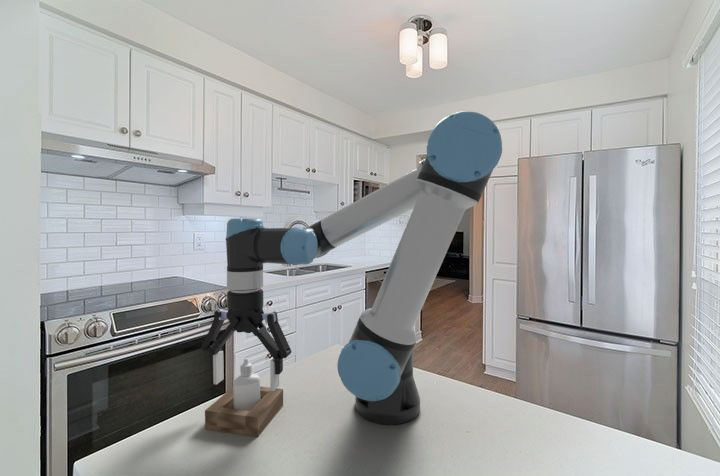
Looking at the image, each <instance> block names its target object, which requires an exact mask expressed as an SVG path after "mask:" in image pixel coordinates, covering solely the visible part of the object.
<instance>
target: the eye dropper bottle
mask: <svg viewBox="0 0 720 476" xmlns="http://www.w3.org/2000/svg"><path fill="white" fill-rule="evenodd" d="M232 387H233V401H234V409H238V410H246V411H250V410H251V409H252V408H253V407H254V406H255V405H256V404H257V403H258V402H259V401H260V387H261V377H260V376H259V374H257V373H253V365H252V362H249V358H247V357H245V358H244V359H243V363H241V364H240V374H239V375H238V376H236V377H234V378H233V381H232Z"/></svg>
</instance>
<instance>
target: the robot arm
mask: <svg viewBox="0 0 720 476" xmlns="http://www.w3.org/2000/svg"><path fill="white" fill-rule="evenodd" d="M502 153H503V141H502V136H501V133H500V131H499V128H498V127H497V125H496V124H495V122H494V121H493V120H491V119H490V118H489V117H487V115H484V114H482V113H479V112H475V111H469V110H468V111H467V110H466V111H463V110H462V111H459V112H458V111H457V112H454V113H452V114H449V115H448V116H446V117H444V118H442V119H441V120H440V121H439V122H438V123H437V124H436V125H435V126H434V128H433V129H432V131H431V133H430V135H429V137H428V140H427V146H426V156H425V158H424V159H422V160H420V161H419V162H418V164H417V167H416V168H415V169H413V170H411V171H410V172H408V173H406V174H404V175H402V176H400V177H398V178H397V179H394V180H393V181H391V182H389V183H387V184H385V185H383V186H382V187H379V188H378V189H376V190H373V191H372V192H370V193H369V194H367V195H365V196H362V197H361V198H359V199H357V200H356V201H354V202H352V203H350V204H348V205H346V206H344V207H343V208H341V209H339V210H337V211H335V212H334V213H331V214H330V215H328V216H326V217H325V218H323V219H321V220H318V221H317V222H314V223H313V224H311V225H309V226H306V227H272V228H271V227H264V221H263V220H262V219H261V218H230V219H229V220H228V221H227V222H226V235H225V245H226V261H227V262H226V263H227V266H226V289H227V290H228V291H227V292H226V307H227V309H228V310H227V309H225V308H224V307H223V308H219V309H218V310H214V313H213V322H212V323H211V326H210V328H209V329H208V333H207V335H206V336H205V338H204V341H203V343H202V345H201V350H202V351H203V352H208V354H209V360H210V361H209V362H210V363H209V365H210V367H211V368H212V371H213V372H212V377H213V378H212V379H213V381H212V382H213V385H218V384H219V383H220V382H222V381H223V380H224V379H225V378H224V376H225V375H224V374H225V373H224V364H225V363H224V362H225V361H224V350H222V347H223V346H224V345H225V343H227V342H228V340H229V339H230V338H231V337H232V335H233V334H234V333H235V332H236V333H246V334H251V333H252V334H253V335H254V336H255V337H256V338H258V340H259V341H260V342H261V343H262V346H264V348H265V350H267V352H268V353H269V354H270V356H271V357H272V359H271V360H270V361H269V363H270V364H269V365H270V367H269V368H270V374H269V375H270V383H269V384H270V386H269V388H270V391H274V390H275V389H276V388H278V387H279V386H280V374H282V373H283V371H284V359H287V357H289V356H290V355H291V354H292V349H291V347H290V345H289V343H288V340H287V338H286V336H285V334H284V331H283V330H282V327H281V325H280V323H279V320H278V312H276V311H272V312H268V313H267V312H264V290H263V289H262V288H263V287H264V264H277V265H278V264H279V265H292V266H301V265H302V266H304V265H306V266H307V265H311V263H313V262H314V260H315V259H318V258H321V257H324V256H325V255H327V254H328V253H329V252H331V251H332V250H334V249H336V248H338V247H340V246H342V245H344V244H346V243H348V242H349V241H352V240H354V239H356V238H358V237H360V236H361V235H363V234H366V233H368V232H370V231H372V230H374V229H375V228H377V227H380V226H382V225H383V224H385V223H388V222H389V221H392V220H393V219H395V218H398V217H399V216H402V215H403V214H405V213H407V212H409V211H411V210H412V212H411V213H410V217H409V218H408V222H407V224H406V226H405V228H404V231H403V233H402V236H401V238H400V239H399V242H398V245H397V248H396V250H395V252H394V254H393V256H392V260H391V262H390V264H389V267H388V269H387V271H386V274H385V276H384V278H383V281H382V283H381V285H380V288H379V290H378V292H377V295H376V297H375V300H374V302H373V305H372V307H371V308H366V309H365V310H363V311H362V312H361V314H360V315H359V318H358V320H357V322H356V324H355V327H354V330H353V332H352V334H351V337H350V339H349V341H348V343H346V344H345V345H344V346H343V348H342V349H341V350H340V353H339V356H338V357H337V364H336V365H337V372H338V376H339V378H340V380H341V383H342V385H343V386H344V387H345V389H346V390H347V391H348V392H350V394H352V395H353V396H355V399H354V400H355V410H356V413H357V414H359V415H360V416H361V417H362V418H363V419H366V420H368V421H370V422H374V423H376V424H381V425H401V424H405V423H407V422H410V421H413V420H414V419H416V417H418V415H419V414H420V411H421V397H420V394H419V391H418V387H417V383H416V381H415V378H414V373H413V372H414V347H415V345H416V343H417V340H418V337H417V334H416V331H415V329H414V328H415V325H416V322H417V320H418V318H419V316H420V314H421V311H422V309H423V307H424V304H425V302H426V299H427V297H428V295H429V293H430V291H431V289H432V287H433V284H434V281H435V279H436V277H437V274H438V273H439V270H440V268H441V266H442V264H443V262H444V259H445V257H446V255H447V252H448V250H449V248H450V245H451V243H452V241H453V239H454V237H455V235H456V232H457V230H458V228H459V225H460V223H461V221H462V219H463V216H464V215H465V212H466V211H467V210H468V209H470V208H472V207H475V206H477V205H479V202H480V200H481V198H482V195H483V193H484V191H485V190H486V189H485V188H486V187H487V184H488V182H489V180H490V177H491V176H492V173H493V171H494V169H495V168H496V167H497V166H498V164H499V162H500V160H501V158H502V157H501V156H502V155H503V154H502ZM226 319H227V321H228V322H229V324H228V325H227V326H226V328H225V329H224V331H223V332H222V333H221V335H219V333H220V331H221V329H222V328H223V324H224V322H225V320H226ZM263 321H264V322H265V324H267V326H268V329H269V331H268V330H267V327H266V325H265V324H264V323H263ZM269 332H270V333H269ZM218 335H219V338H218Z"/></svg>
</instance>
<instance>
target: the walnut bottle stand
mask: <svg viewBox="0 0 720 476" xmlns="http://www.w3.org/2000/svg"><path fill="white" fill-rule="evenodd" d="M283 407H284V388H278V387H277V388H276V389H275V390H274V391H270V386H269V387H268V386H267V387H266V386H260V401H259V402H258V403H257V404H256V405H255V406H254V407H253V408H252V409H251V410H250V411H246V410H238V409H234V401H233V386H232V387H231V388H230V389H229V390H228V391H226V392H225V393H224V394H223V395H221V396H220V397H219V398H218V399H216V400H215V401H214V402H213V403H212V404H211V405H209V406H208V407H206V409H204V429H205V430H209V431H215V432H216V431H217V432H223V433H230V434H236V435H243V436H249V437H259V436H260V435H261V434H262V432H263V431H264V430H266V428H267V427H268V425H269V424H270V423H271V422H272V420H273V419H274V418H275V417H276V415H278V413H279V412H280V410H281V409H282V408H283Z"/></svg>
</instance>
